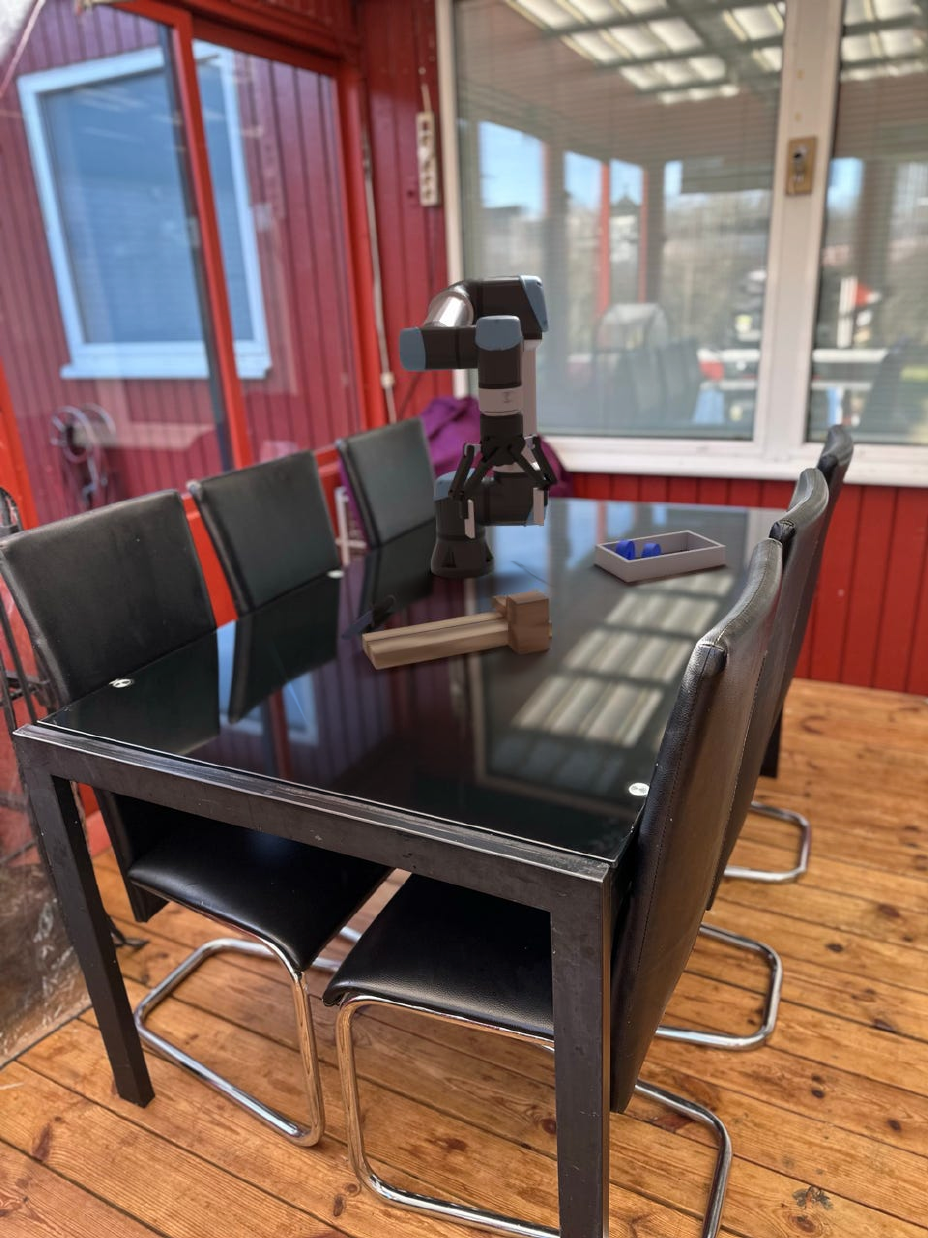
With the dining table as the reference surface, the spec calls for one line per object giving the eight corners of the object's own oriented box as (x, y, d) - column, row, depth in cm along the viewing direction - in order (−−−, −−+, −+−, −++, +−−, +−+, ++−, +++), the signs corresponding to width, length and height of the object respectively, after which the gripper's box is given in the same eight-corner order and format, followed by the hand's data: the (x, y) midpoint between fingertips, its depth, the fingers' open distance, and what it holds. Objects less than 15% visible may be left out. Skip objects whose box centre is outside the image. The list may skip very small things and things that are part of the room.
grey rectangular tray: (594, 563, 206) (594, 544, 204) (687, 548, 213) (688, 530, 212) (627, 582, 193) (627, 562, 191) (724, 565, 200) (726, 546, 199)
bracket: (648, 587, 196) (650, 548, 193) (614, 582, 201) (614, 544, 197) (677, 564, 210) (679, 528, 207) (644, 560, 215) (645, 524, 211)
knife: (387, 611, 184) (385, 588, 183) (397, 612, 184) (396, 589, 182) (335, 652, 163) (333, 626, 161) (347, 653, 162) (345, 627, 160)
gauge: (484, 623, 175) (482, 575, 171) (512, 618, 176) (511, 570, 173) (519, 655, 159) (517, 603, 155) (549, 649, 161) (548, 598, 157)
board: (363, 649, 165) (361, 634, 164) (530, 619, 175) (530, 604, 174) (376, 669, 156) (375, 653, 155) (551, 636, 166) (551, 621, 165)
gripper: (439, 423, 145) (447, 546, 153) (576, 406, 152) (576, 524, 161) (425, 416, 151) (433, 535, 159) (556, 400, 159) (557, 514, 167)
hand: (504, 530), depth 160 cm, fingers open, 13 cm apart
